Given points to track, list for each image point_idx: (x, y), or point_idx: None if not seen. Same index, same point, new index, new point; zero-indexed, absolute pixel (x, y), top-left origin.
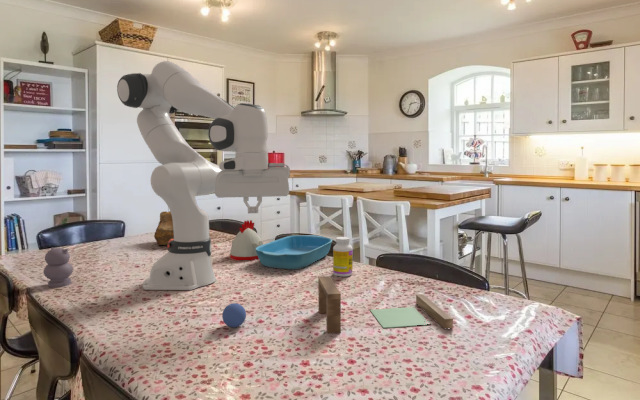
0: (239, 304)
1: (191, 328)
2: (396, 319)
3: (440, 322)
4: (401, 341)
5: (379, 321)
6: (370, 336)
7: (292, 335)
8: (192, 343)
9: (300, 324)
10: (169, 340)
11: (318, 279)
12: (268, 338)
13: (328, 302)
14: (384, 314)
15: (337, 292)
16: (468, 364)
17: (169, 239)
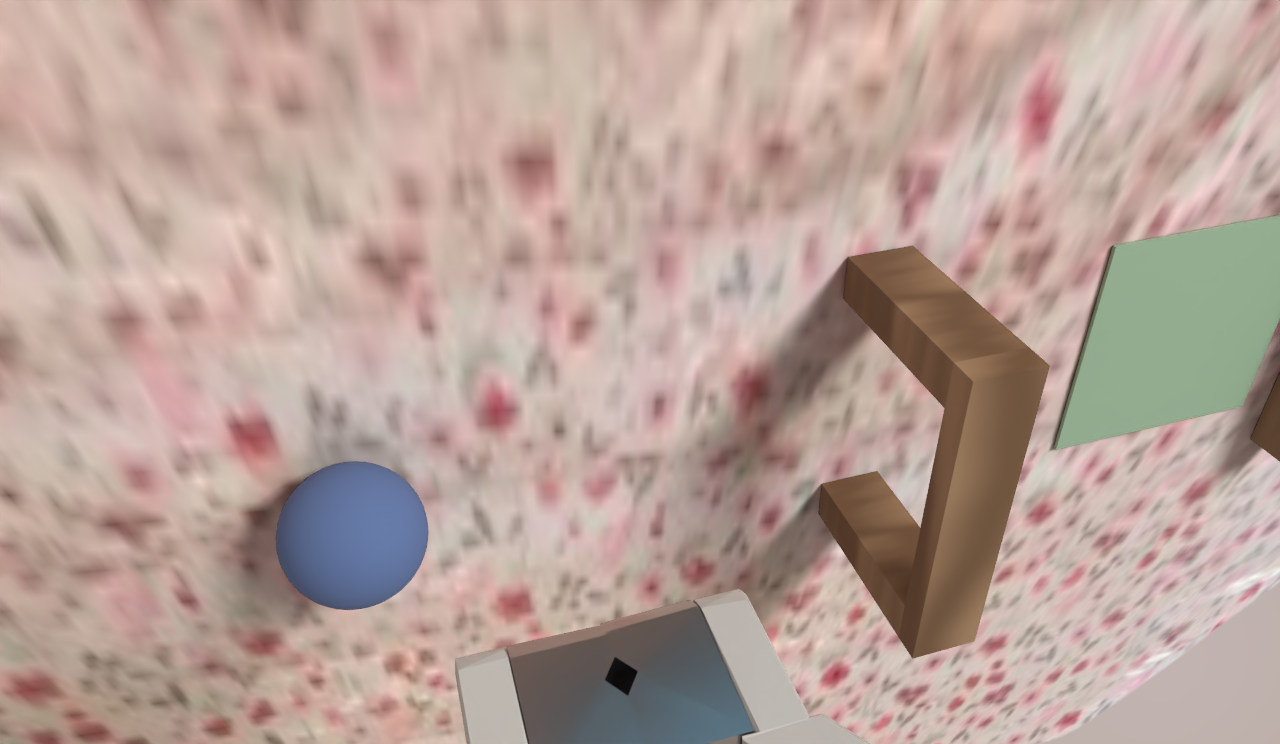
0: (391, 565)
1: (75, 531)
2: (1153, 366)
3: (1275, 414)
4: (1050, 540)
5: (1074, 393)
6: None
7: (663, 543)
8: (182, 665)
9: (715, 435)
10: (26, 659)
11: (960, 376)
12: (554, 579)
13: (893, 624)
14: (1142, 312)
15: (966, 630)
16: (1129, 638)
17: None
